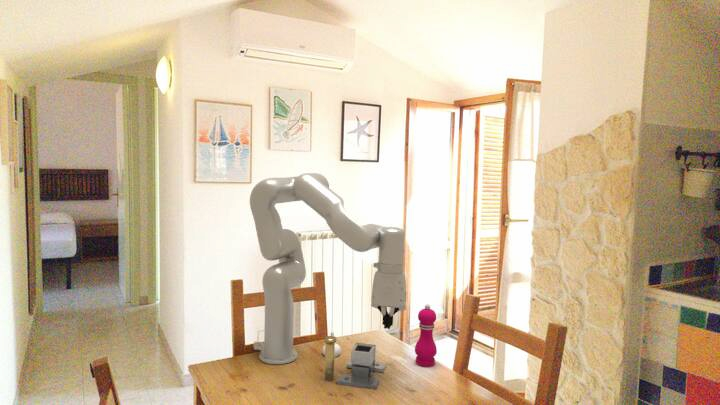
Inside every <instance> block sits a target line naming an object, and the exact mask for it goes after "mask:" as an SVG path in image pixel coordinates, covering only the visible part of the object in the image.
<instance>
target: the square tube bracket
mask: <svg viewBox="0 0 720 405" xmlns="http://www.w3.org/2000/svg"><path fill="white" fill-rule="evenodd" d="M376 348H377V346H376V344H370V343H363V342H362V343H361V342H356V343H355V345H354V346H353V347H352V349H351V350H350V359H349V360H348V362H347V363H346V368H348V369H352V364H356V365H364V366H371V365H372V363H373V361H374V369H373V372H379V373H384V371H385V369H386V368H387V363H386V362H381V361H376Z"/></svg>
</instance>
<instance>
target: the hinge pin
mask: <svg viewBox="0 0 720 405" xmlns="http://www.w3.org/2000/svg"><path fill="white" fill-rule="evenodd" d="M336 342H337V337H336V336H335V335H334V336H330V335H326V336H324V337H323V343H324V344H325V356H324V381H326V382H333V381H334V380H335V357H334V353H335V343H336Z"/></svg>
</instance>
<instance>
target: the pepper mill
mask: <svg viewBox="0 0 720 405" xmlns="http://www.w3.org/2000/svg"><path fill="white" fill-rule="evenodd" d="M417 319H418V321H419V323H418V324H419V325H418V328H419V330H420V333H419V334H420V335H419V338H418V339H417V342H416V344H415V347H414V352H415V353H414V354H415V355H416V356H415V364H416V365H417V366H419V367H424V368H428V367H429V368H430V367H433V366H434V365H436V364H435V363H436V362H435V361H436V359H435V356H436V355H437V345H436V342H435V341H434V337H433V332H434V329H435V322H436V321H437V313H436V312H435V310H433V309H432V308H431V305H430V304H428V303H427V304H425V305H424V308H421V310H419V312H418V314H417Z"/></svg>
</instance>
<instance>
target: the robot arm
mask: <svg viewBox="0 0 720 405" xmlns="http://www.w3.org/2000/svg"><path fill="white" fill-rule="evenodd" d="M300 201H302V202H303V203H304V204H305V205H307V206H309V207H310V208H311V209H312V210H313V211H315V212H316V214H318V215H319V216H320V217H321V218H323V219H324V220H325V222H326V224H327V226H328V227H329V228H330V230H331V231H332V233H333V235H335V236H336V237H337V238H338V239H339V240H340V241H341V242H342V243H344V244H345V245H346V246H348V248H351V249H352V250H353V251H355V252H359V253H364V252H368V251H370V250H372V249H377V248H378V261H377V262H374V263H373V268H376V269H377V270H376V271H375V273H374V277H373V282H372V286H371V287H372V288H371V297H370V298H371V300H370V301H371V304H370V306H371V308H375V309H377V310H378V311H379V312H380V313H381V315H382V325H383V329H388V330H390V329H391V326H392V327H393V324H394V315H395V314H397V312H405V311H406V310H407V305H406V301H407V281H406V280H407V279H406V273H404V255H405V239H406V238H405V237H406V236H405V235H406V233H405V230H404V229H403V228H400V227H397V226H396V227H395V226H382V225H379V224H373V223H367V224H365V225H364V224H363V225H361V224H360V223H359V222H358V221H356V220H355V219H354V218H353V217H351V216H350V215H349V214H348V212H347V211H346V210H345V206H344V199H343V197H341V196H340V195H339V194H337V193H336V192H335V191H334V190H332V189H330V182H329V181H328V179H327V178H326V177H325V175H323V174H321V173H314V172H311V173H310V172H309V173H302V174H299V175H298V176H290V177H288V176H287V177H270V178H265V179H262V180H260V181H259V182H257V183H256V185H255V186H254V187H253V188H252V190H251V193H250V195H249V207H250V210H251V214H252V216H253V218H252V219H253V220H254V225H255V226H254V227H255V231H256V237H257V239H258V240H257V241H258V246H259V249H260V250H259V251H260V253H261V255H262V257H263V258H264V259H265V260H267V261H271V262H272V261H277V260H278V263H276V264H274V265H271V266H270V267H269V268H267V269H266V270H265V272H263V276H262V280H261V281H262V282H261V283H262V289H263V296H264V297H263V298H264V332H263V333H264V334H263V335H264V338H263V342H262V341H261V342H260V341H254V343H253V350H254V351H260V353H259V355H258V356H259V360H260V361H261V362H263V363H265V364H269V365H284V364H290V363H292V362H294V361H296V359H297V358H298V352H297V350H296V349H294V319H295V318H294V316H295V315H294V310H295V309H294V308H295V305H294V297H293V295H292V289H294V288H296V287H299V286H300V285H302V284H303V282H304V281H305V279H306V276H307V271H306V270H307V269H306V264H305V260H304V255H303V250H302V246H301V242H300V238H299V237H298V235H297V233H295V232H294V231H293V230H291V229H288V228H283V225H282V219H281V216H280V214H279V212H278V210H277V209H276V207H275V205H277V204H283V203H292V202H293V203H294V202H300ZM388 308H390V310H389V311H388Z"/></svg>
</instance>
